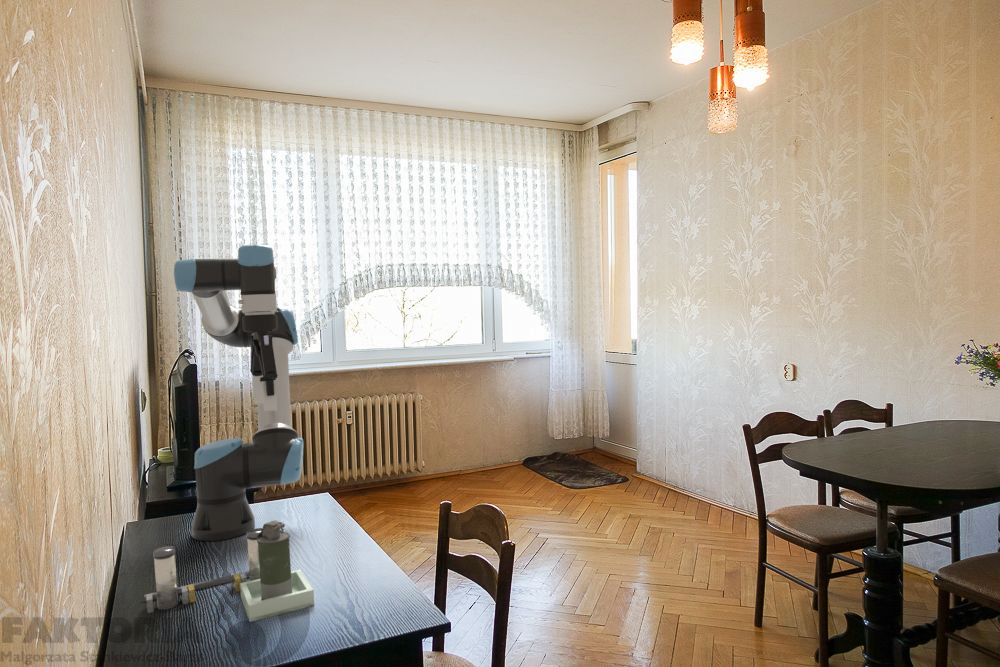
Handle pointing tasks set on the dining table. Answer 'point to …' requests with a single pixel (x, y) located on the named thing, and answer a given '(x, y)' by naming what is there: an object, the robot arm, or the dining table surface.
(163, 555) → the fuse rail
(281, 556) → the grenade
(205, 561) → the dining table surface
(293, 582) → the tray
